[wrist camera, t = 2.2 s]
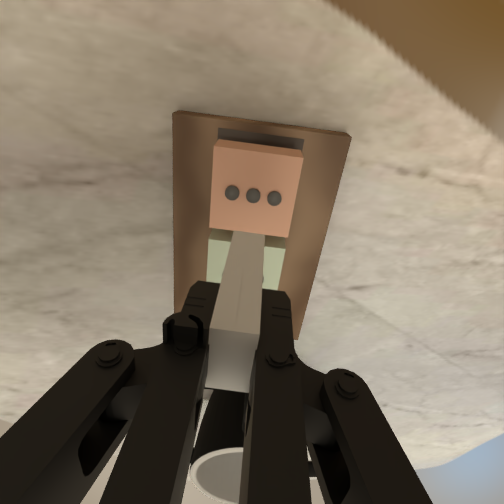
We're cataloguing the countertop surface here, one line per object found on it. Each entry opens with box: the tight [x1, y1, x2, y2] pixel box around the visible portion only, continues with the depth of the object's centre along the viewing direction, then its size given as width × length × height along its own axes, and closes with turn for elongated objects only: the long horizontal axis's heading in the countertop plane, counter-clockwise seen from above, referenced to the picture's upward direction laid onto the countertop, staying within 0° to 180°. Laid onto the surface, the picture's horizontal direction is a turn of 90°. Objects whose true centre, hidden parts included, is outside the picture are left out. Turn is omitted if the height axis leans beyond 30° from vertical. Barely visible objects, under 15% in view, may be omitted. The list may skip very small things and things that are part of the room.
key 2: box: [206, 228, 286, 290], centre depth 27 cm, size 6×6×3 cm
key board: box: [172, 110, 352, 340], centre depth 31 cm, size 14×22×2 cm, turn 173°
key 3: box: [209, 139, 304, 238], centre depth 23 cm, size 6×6×3 cm
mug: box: [190, 387, 317, 504], centre depth 37 cm, size 16×16×12 cm
